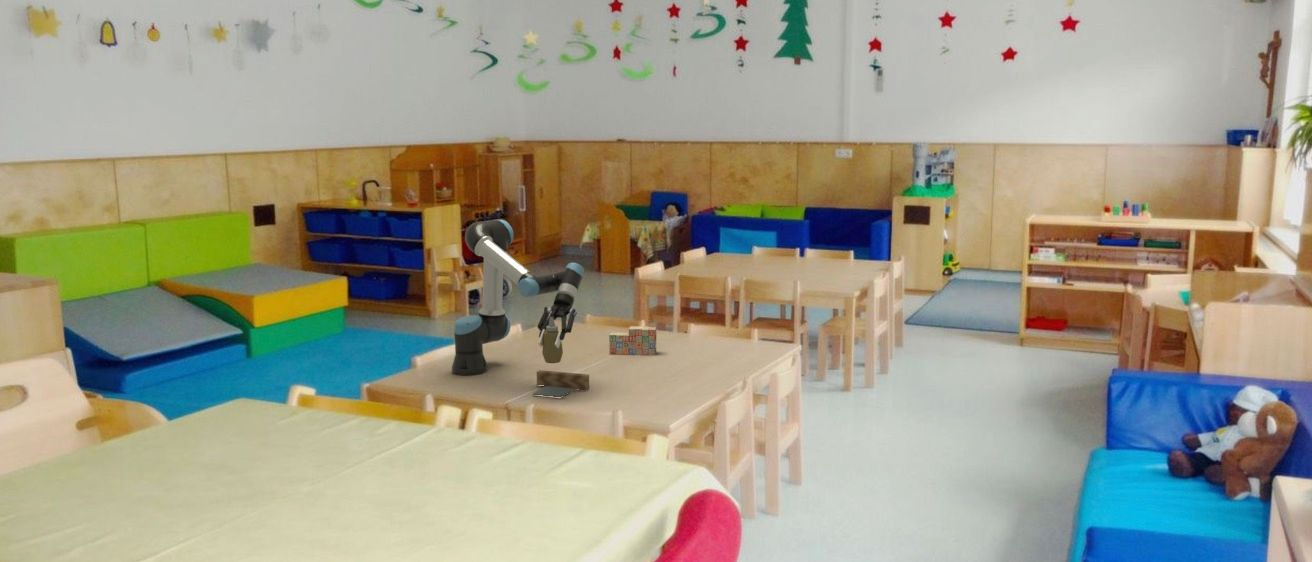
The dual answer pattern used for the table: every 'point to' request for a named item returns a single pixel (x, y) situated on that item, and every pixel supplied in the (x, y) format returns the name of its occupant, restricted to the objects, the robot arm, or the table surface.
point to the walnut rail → (563, 379)
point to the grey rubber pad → (553, 391)
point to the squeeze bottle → (551, 344)
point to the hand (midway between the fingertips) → (548, 345)
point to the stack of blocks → (634, 341)
